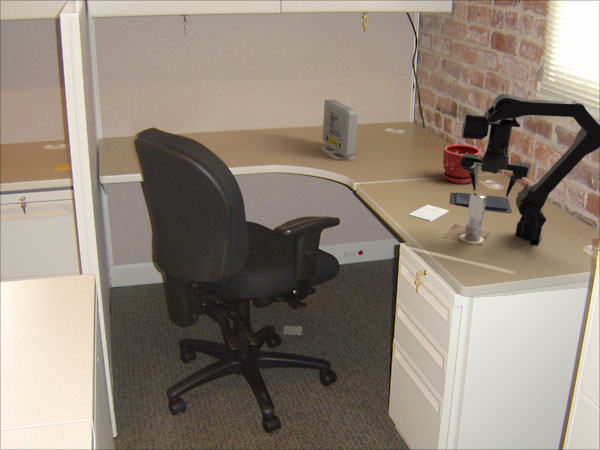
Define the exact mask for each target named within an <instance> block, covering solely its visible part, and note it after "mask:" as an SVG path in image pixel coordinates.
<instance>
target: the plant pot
mask: <svg viewBox="0 0 600 450" xmlns="http://www.w3.org/2000/svg"><path fill="white" fill-rule="evenodd" d="M467 153H470V154H476V155H479V159H481V150H480V149H479V148H477V147H475V146H472V145H467V144H450V145H449V144H448V145H446V146H445V147H444V148H443V156H442V159H443V160H442V163H443V168H444V172H443V173H442V174H443V178H444V179H446V181H449V182H451V183H455V184H468V183H472V180H471V177H470V174H469V172H468V171H467V170H465V169H464V167H461V166H460V160H461V158H462V157H463V156H464V155H465V154H467Z"/></svg>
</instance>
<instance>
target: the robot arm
mask: <svg viewBox="0 0 600 450" xmlns="http://www.w3.org/2000/svg"><path fill="white" fill-rule="evenodd" d="M525 116H527V117H528V116H536V117H537V116H541V117H563V118H565V117H566V118H573V120H574V121H575V122H576V123H577V124H578V125H579V127H580V129H579V131H578V133H577V134H576V136H575V138H574V140H573V143H572V144H571V146H570V147H569V148H568V149H567V150H566V151H565V152H564V153H563V155H561V157H560V158H559V159H558V160H557V161H556V162H555V163H554V164H553V165H552V166H551V168H549V170H548V171H547V172H545V174H544V175H542V177H541V178H540V179H539V180H538V182H536V183H534V184H533V185H531V186H530V185H529V183H526V184H525V185H524V187H523V188H522V189H521V190H520V191H519V192H517V193H516V195H517V197H516V199H515V206H516V208H517V210H518V213H519V215H520V216H521V217H520V218H519V220H518V222H517V223H516V228H515V236H516V237H517V238H520V239H522V240H525V241H529V244H531V245H535V246H536V245H537V246H538V245H540V242H541V240H542V239H543V236H542V234H543V229H544V225H545V223H546V221H547V217H546V216H545V214H544V212H543V210H542V209H543V207H544V206H545V204H546V202H547V199H548V197H549V196H550V194H551V192H553V191H554V189H555V188H557V186H558V185H559V184H560V183H561V182H563V179H565V178H566V177H567V176H568V174H570V172H572V170H573V169H575V168H576V166H577V165H578V164H579V163H580V162H581V161H582V160H583V159H584V158H585V157H586V156H588V155H589V154H591V153H593V152H595V151H597V150H598V149H600V120H598V119H595V118H594V117H593V116H592V115H591V113H589V111H588V110H587V109H586V106H585V105H584V104H583V103H581V102H580V101H579V100H573V101H572V100H571V101H570V100H569V101H567V100H565V101H564V100H545V99H543V100H541V99H540V100H539V99H527V98H523V97H520V96H517V95H512V94H508V93H507V94H506V93H502V94H499V95H497V96H496V97H495V98H494V100H493V103H492V106H490V107H489V109H487V110H486V111H485V112H484V114H483V115H482V114H480V115H479V114H473V113H465V116H464V120H463V123H462V127H461V138H462V139H470V140H484V138H486V137H488V140H487V141H488V142H487V147H486V150H485V153H484V154H483V157H482V158H480V159H479V155H476V154H470V153H468V152H466V154H465V155H464V156H463V157H462V158H461V160H460V166H461V167H464V169H465V170H467V171H468V172H469V174H470V177H471V180H472V182H471V184H472V188H473V189H472V190H473V191H474V192H476V190H477V187H478V179H479V177H478V176H479V167H480V170H481V172H484V173H486V172H488V173H492V174H495V175H496V174H498V173H500V170H503V171H509V172H511V173H512V174H511V175H510V177H509V178H510V180H509V182H508V186H507V189H506V193H505V198H509V195H510V194H511V191H512V190H513V187H514V186H515V185H516V183H517V181H518V180H522V179H523V178H524V179H525V178H528V176H529V175H530V174H531V169H532V165H531V163H529V162H523V161H516V162H515V164H513V163H510V157H509V156H508V155H509V148H510V143H511V136H512V129H513V128H520V127H521V124H520V122H519V121H518V120H517V118H522V117H525ZM489 127H490V128H489ZM488 134H489V135H488Z"/></svg>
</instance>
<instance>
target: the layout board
mask: <svg viewBox="0 0 600 450" xmlns="http://www.w3.org/2000/svg"><path fill="white" fill-rule="evenodd" d="M465 229H466V225H465V226H463V225H459V224H456V223H455V224H453V225H452V226H451V228H449V230H448V231H447V232H446V233H445V234H444V235H443V237H442V239H446V240H447V239H448V240H450V241H451V240H452V241H456V242H461V243H465V244H471V245H474V246H479V247H482V245H483V244H484V243H485V241H486V240H487V238H488V237H489V235H490V234H491V231H489V230H483V229H482V230H481V236H480V240H479V241H476V242H473V241H468V240H466V239H465V238H464V236H465Z"/></svg>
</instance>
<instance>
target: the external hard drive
mask: <svg viewBox="0 0 600 450" xmlns="http://www.w3.org/2000/svg"><path fill="white" fill-rule="evenodd" d="M448 212H450V210H448V209H446V208H441V207H437V206H434V205H430V204H426V205H424V206H422V207H419V208H418V209H416V210H413V211H411V212H410V213H408V214H407V215H408V216H411V217H414V218H417V219H421V220H424V221H428V222H433V221H434V220H436V219H438V218H439V217H442V216H443V215H445V214H447V213H448Z"/></svg>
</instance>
